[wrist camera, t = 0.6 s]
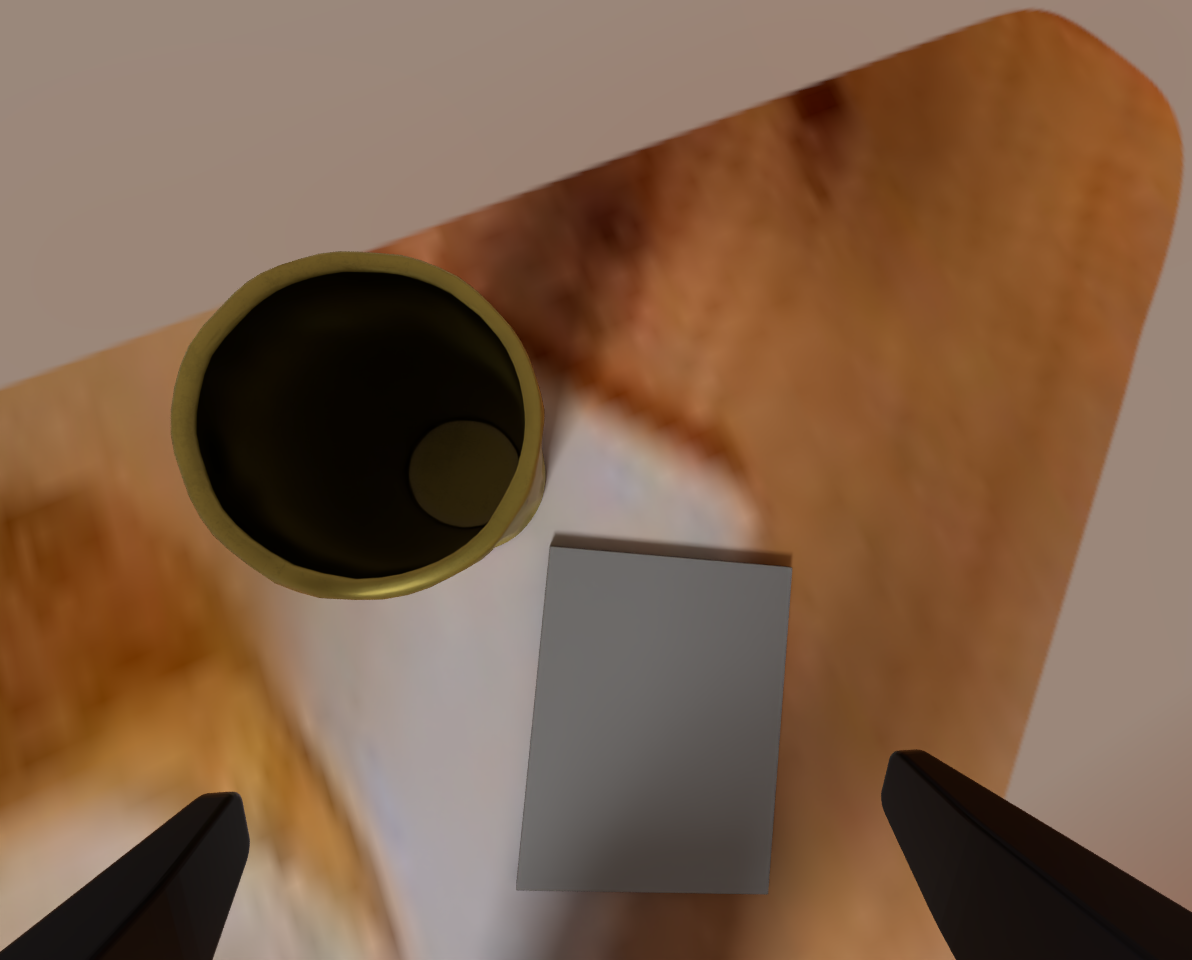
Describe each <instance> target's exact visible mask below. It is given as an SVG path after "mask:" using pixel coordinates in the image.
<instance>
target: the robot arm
mask: <svg viewBox="0 0 1192 960" xmlns="http://www.w3.org/2000/svg"><path fill="white" fill-rule="evenodd" d="M881 801H882V806H883V809H884V812H885V815H886V817H887V819H888V821H889V823H890V826H891V828H892V830H893V832H894V834H895V836H896V838H897V841H898V843H899V845H900V847H901V849H902V851H903V854H904V856H905V858H906V860H907V862H908V864H909V866H910V869H911V871H912V873H913V875H914V877H915V879H916V881H917V884H918V886H919V888H920V890H921V892H922V894H923V897H924V899H925V901H926V903H927V905H928V907H929V909H930V911H931V913H932V915H933V917H934V919H935V921H936V923H937V925H938V928H939V929H940V931H941V933H942V935H943V937H944V939H945V941H946V942H947V944H948V946H949V948H950V950H951V952H952V953H953V955H954V957H955V959H956V960H1192V912H1191V911H1189V910H1187V909H1185V908H1184V907H1182V906H1181V905H1179V904H1177V903H1176V902H1174V901H1172V900H1170V899H1169V898H1167V897H1165V896H1164V895H1162V894H1161V893H1159V892H1157V891H1156V890H1154V889H1152V888H1151V887H1149V886H1147V885H1146V884H1144V883H1143V882H1141V881H1139V880H1137V879H1136V878H1134V877H1133V876H1131V875H1129V874H1128V873H1126V872H1124V871H1122V870H1121V869H1119V868H1118V867H1116V866H1114V865H1113V864H1111V863H1109V862H1108V861H1106V860H1104V859H1103V858H1101V857H1099V856H1098V855H1096V854H1094V853H1093V852H1091V851H1089V850H1088V849H1086V848H1084V847H1082V846H1081V845H1079V844H1078V843H1076V842H1074V841H1073V840H1071V839H1069V838H1068V837H1066V836H1064V835H1063V834H1061V833H1060V832H1058V831H1056V830H1054V829H1053V828H1051V827H1049V826H1048V825H1046V824H1044V823H1043V822H1041V821H1039V820H1038V819H1036V818H1035V817H1033V816H1031V815H1030V814H1028V813H1026V812H1025V811H1023V810H1021V809H1020V808H1018V807H1016V806H1015V805H1013V804H1011V803H1009V802H1008V801H1006V800H1005V799H1003V798H1001V797H1000V796H998V795H996V794H995V793H993V792H991V791H990V790H988V789H987V788H985V787H983V786H982V785H980V784H978V783H977V782H975V781H973V780H972V779H970V778H968V777H967V776H965V775H963V774H962V773H960V772H958V771H957V770H955V769H953V768H952V767H950V766H948V765H947V764H945V763H943V762H942V761H940V760H938V759H937V758H935V757H933V756H932V755H930V754H928V753H927V752H925V751H922V750H917V749H916V750H900V751H895V752H894V753H893V754H892V755H891V756H890V759H889V763H888V767H887V771H886V775H885V779H884V784H883V788H882V793H881ZM249 847H250V839H249V833H248V827H247V822H246V817H245V812H244V807H243V802H242V798H241V796H240V795H239V794H238V793H237V792H219V793H207V794H203V795H201V796H200V797H198V798H196V799H195V800H194V801H192V802H191V803H190V804H189V805H187V806H186V807H185V808H183V809H182V810H181V811H180V812H178V813H177V814H176V815H175V816H173V817H172V818H171V819H169V820H168V821H167V822H166V823H164V824H163V825H162V826H160V827H159V828H158V829H157V830H155V831H154V832H153V833H152V834H150V835H149V836H148V837H146V838H145V839H144V840H143V841H141V842H140V843H139V844H137V845H136V846H135V847H134V848H132V849H131V850H130V851H129V852H127V853H126V854H125V855H123V856H122V857H121V858H120V859H118V860H117V861H116V862H114V863H113V864H112V865H111V866H109V867H108V868H107V869H106V870H104V871H103V872H102V873H100V874H99V875H98V876H97V877H95V878H94V879H93V880H91V881H90V882H89V883H88V884H86V885H85V886H84V887H82V888H81V889H80V890H79V891H77V892H76V893H75V894H74V895H72V896H71V897H70V898H68V899H67V900H66V901H65V902H63V903H62V904H61V905H59V906H58V907H57V908H56V909H54V910H53V911H52V912H51V913H49V914H48V915H47V916H45V917H44V918H43V919H42V920H40V921H39V922H38V923H36V924H35V925H34V926H33V927H31V928H30V929H29V930H28V931H26V932H25V933H24V934H22V935H21V936H20V937H19V938H17V939H16V940H15V941H13V942H12V943H11V944H10V945H8V946H7V947H6V948H5V949H3V950H2V951H1V952H0V960H213V957H214V954H215V951H216V948H217V945H218V943H219V940H220V937H221V934H222V931H223V928H224V925H225V922H226V919H227V917H228V914H229V911H230V908H231V905H232V902H233V899H234V896H235V893H236V891H237V888H238V885H239V882H240V879H241V876H242V873H243V870H244V867H245V865H246V861H247V858H248V854H249Z"/></svg>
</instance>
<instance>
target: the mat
mask: <svg viewBox="0 0 1192 960" xmlns="http://www.w3.org/2000/svg"><path fill="white" fill-rule="evenodd" d="M791 578H792V568H791V567H787V566H775V565H764V564H752V563H741V562H729V561H718V560H706V559H695V558H684V557H672V556H661V555H649V554H638V553H626V552H615V551H603V550H592V549H580V548H569V547H557V546H550V550H549V560H548V570H547V580H546V590H545V600H544V610H543V620H542V630H541V641H540V651H539V661H538V671H537V681H536V691H535V701H534V711H533V721H532V731H531V741H530V752H529V762H528V772H527V782H526V792H525V802H524V812H523V822H522V832H521V842H520V852H519V863H518V873H517V885H516V890H529V891H591V892H653V893H715V894H768V887H769V874H770V861H771V847H772V834H773V820H774V807H775V793H776V780H777V766H778V753H779V739H780V726H781V713H782V699H783V686H784V672H785V659H786V645H787V632H788V618H789V605H790V591H791Z"/></svg>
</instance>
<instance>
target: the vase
mask: <svg viewBox="0 0 1192 960" xmlns="http://www.w3.org/2000/svg"><path fill="white" fill-rule="evenodd" d="M543 426H544V406H543V401H542V396H541V392H540V389H539V385H538V382H537V379H536V376H535V373H534V370H533V367H532V364H531V361H530V358H529V356H528V354H527V352H526V350H525V348H524V346H523V344H522V342H521V340H520V339H519V337H518V336H517V334H516V333H515V331H514V330H513V328H512V327H511V326H510V325H509V324H508V323H507V322H506V320H505V319H504V318H503V317H502V316H501V315H500V314H499V313H498V312H497V310H496V309H495V308H494V307H493V306H492V305H491V304H490V303H489V302H488V301H487V300H486V299H485V298H484V297H483V296H482V295H481V294H480V293H479V292H478V291H476V290H475V289H474V288H473V287H471V286H470V285H469V284H467V283H466V282H465V281H463V280H462V279H461V278H459V277H457V276H455V275H453V274H451V273H449V272H447V271H445V270H443V269H441V268H439V267H436V266H434V265H431V264H429V263H426V262H424V261H421V260H418V259H414V258H410V257H406V256H403V255H394V254H382V253H369V252H341V251H340V252H330V253H322V254H317V255H313V256H309V257H305V258H301V259H298V260H295V261H292V262H289V263H285V264H282V265H279V266H277V267H274V268H272V269H270V270H268V271H265V272H263V273H261V274H259V275H257V276H256V277H254V278H253V279H251V280H249V281H248V282H247V283H245V284H244V285H243V286H242V287H241V288H240V289H238V290H237V291H236V292H235V293H234V294H233V295H232V296H231V297H230V298H229V299H228V300H227V301H226V302H225V303H224V304H223V305H222V306H221V307H220V308H219V309H218V310H217V311H216V313H215V314H214V315H213V316H212V317H211V318H210V319H209V320H208V321H207V322H206V323H205V324H204V325H203V327H202V328H201V329H200V331H199V332H198V334H197V335H196V336H195V338H194V339H193V341H192V342H191V343H190V345H189V347H188V349H187V351H186V354H185V356H184V358H183V361H182V363H181V365H180V369H179V372H178V376H177V379H176V383H175V386H174V393H173V400H172V407H171V437H172V443H173V449H174V454H175V457H176V460H177V463H178V466H179V469H180V472H181V475H182V478H183V481H184V484H185V486H186V489H187V492H188V495H189V497H190V499H191V501H192V503H193V505H194V507H195V509H196V510H197V512H198V514H199V516H200V518H201V519H202V521H203V522H204V523H205V525H206V526H207V528H208V529H209V530H210V532H211V533H212V535H213V536H214V537H216V538H217V539H218V540H219V541H220V542H221V543H222V544H223V545H224V546H225V547H226V548H227V549H228V550H230V551H231V552H232V553H233V554H235V555H236V556H237V557H239V558H240V559H241V560H243V561H244V562H245V563H246V564H248V565H249V566H250V567H252V568H253V569H255V570H256V571H258V572H259V573H261V574H262V575H264V576H265V577H267V578H268V579H270V580H271V581H273V582H274V583H276V584H278V585H281V586H284V587H286V588H289V589H291V590H294V591H297V592H300V593H304V594H307V595H311V596H314V597H318V598H329V599H348V600H379V599H388V598H394V597H399V596H405V595H410V594H413V593H416V592H418V591H421V590H424V589H427V588H430V587H432V586H434V585H436V584H438V583H440V582H442V581H444V580H446V579H448V578H450V577H452V576H454V575H455V574H457V573H459V572H461V571H463V570H465V569H467V568H468V567H470V566H472V565H473V564H475V563H477V562H479V561H480V560H482V559H483V558H484V557H485V556H486V555H488V554H489V553H490V552H491V551H492V550H493V548H495V547H497V546H500V545H502V544H504V543H506V542H508V541H509V540H511V539H512V538H514V537H516V536H517V535H518V534H519V533H520V532H521V531H522V530H523V529H524V528H525V527H526V526H527V524H528V523H529V522H530V520H531V519H532V518H533V516H534V514H535V513H536V511H537V509H538V507H539V505H540V503H541V500H542V496H543V492H544V487H545V475H546V473H545V464H544V458H543V453H542V435H543Z"/></svg>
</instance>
